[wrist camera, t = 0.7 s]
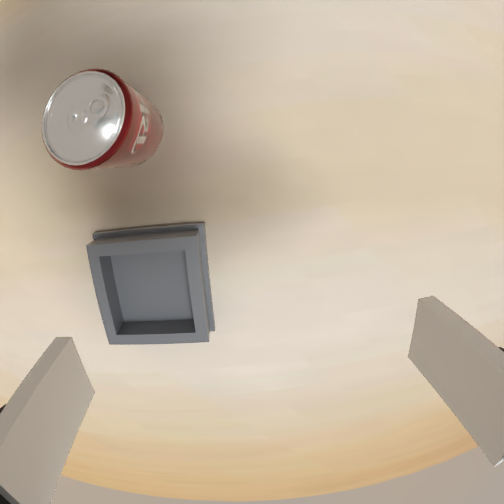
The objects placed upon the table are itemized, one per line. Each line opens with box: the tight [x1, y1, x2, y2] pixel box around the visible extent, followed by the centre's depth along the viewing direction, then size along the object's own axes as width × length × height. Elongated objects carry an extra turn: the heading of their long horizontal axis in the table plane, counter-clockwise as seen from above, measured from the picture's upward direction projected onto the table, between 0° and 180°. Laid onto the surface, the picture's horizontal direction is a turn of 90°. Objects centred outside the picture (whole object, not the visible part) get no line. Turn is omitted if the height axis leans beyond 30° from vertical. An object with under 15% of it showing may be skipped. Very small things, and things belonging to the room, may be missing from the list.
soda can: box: [42, 69, 163, 170], centre depth 22 cm, size 7×7×12 cm
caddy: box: [86, 222, 215, 344], centre depth 31 cm, size 12×12×4 cm
